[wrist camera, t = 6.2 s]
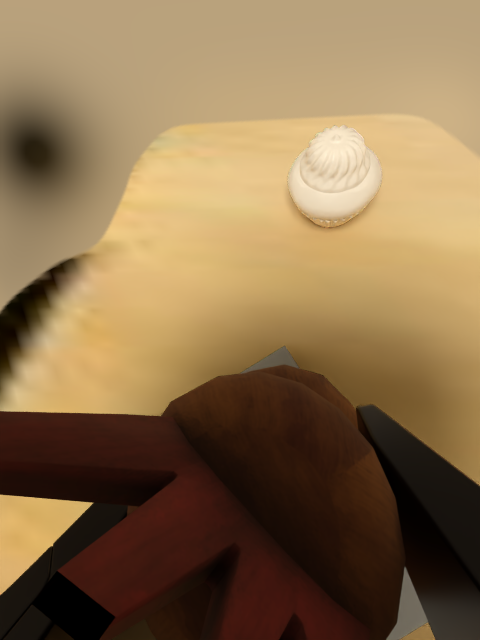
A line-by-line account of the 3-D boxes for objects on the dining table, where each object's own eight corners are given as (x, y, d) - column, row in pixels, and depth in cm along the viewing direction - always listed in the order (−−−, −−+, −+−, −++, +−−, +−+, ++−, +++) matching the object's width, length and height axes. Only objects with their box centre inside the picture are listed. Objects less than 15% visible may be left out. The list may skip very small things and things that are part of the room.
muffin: (282, 239, 25) (272, 174, 19) (299, 175, 27) (295, 95, 21) (365, 250, 24) (385, 181, 17) (378, 181, 25) (401, 95, 19)
